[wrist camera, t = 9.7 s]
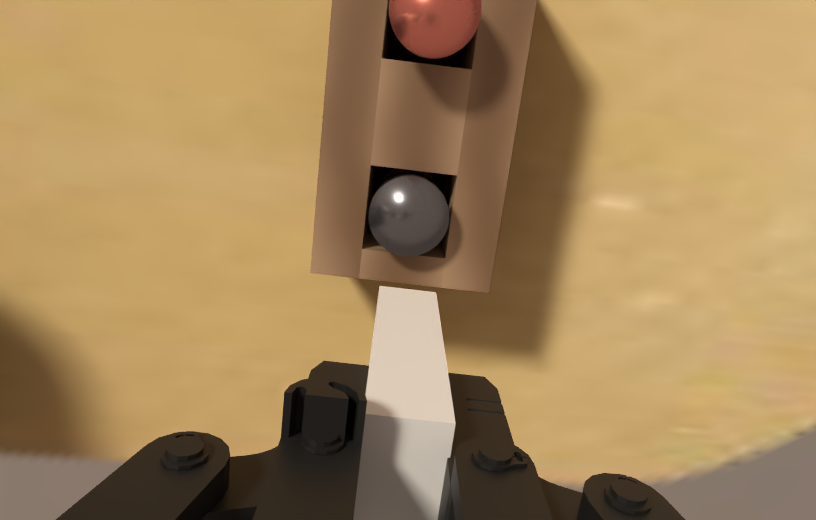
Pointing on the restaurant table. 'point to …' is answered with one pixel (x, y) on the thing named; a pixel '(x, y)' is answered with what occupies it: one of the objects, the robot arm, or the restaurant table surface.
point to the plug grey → (408, 213)
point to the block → (418, 142)
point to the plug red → (434, 25)
